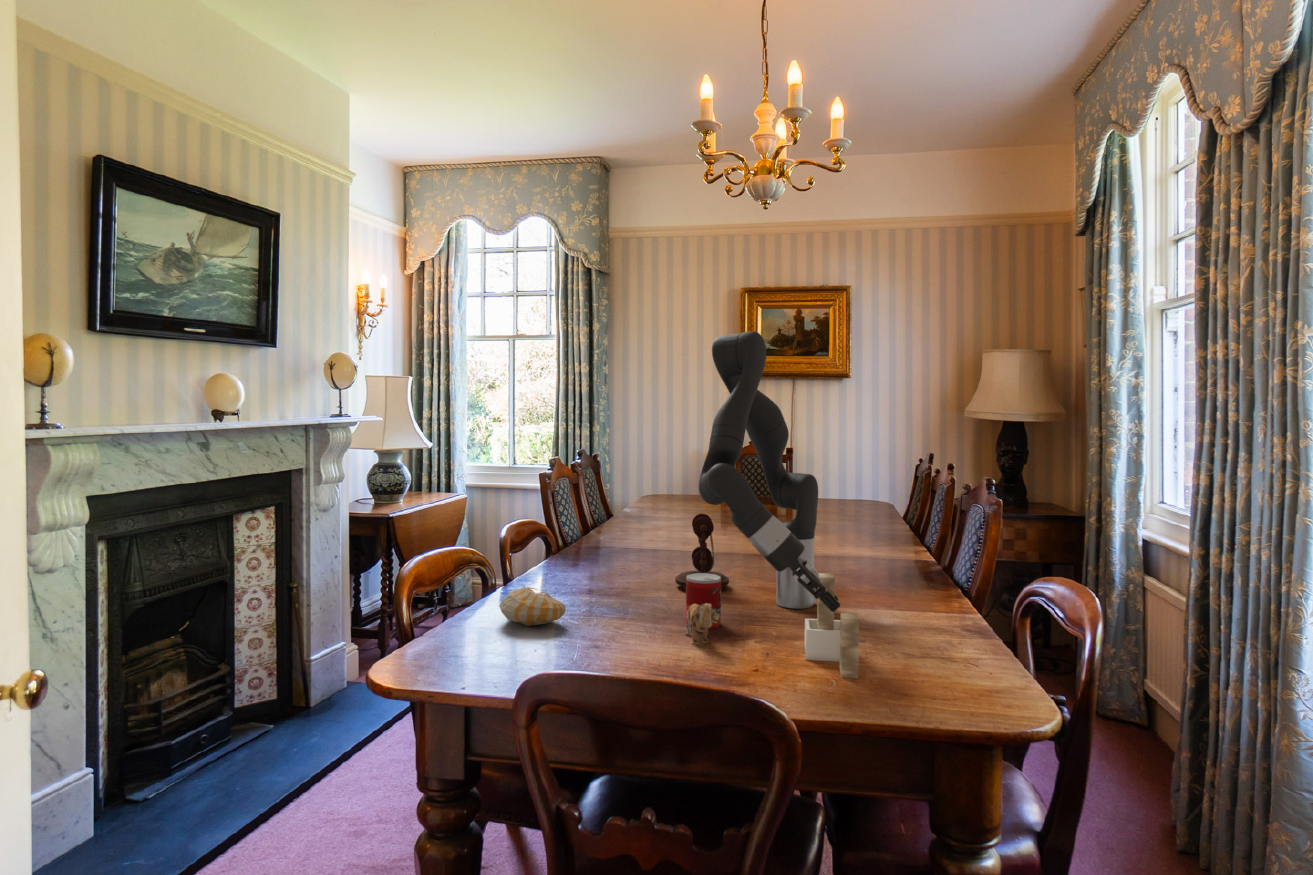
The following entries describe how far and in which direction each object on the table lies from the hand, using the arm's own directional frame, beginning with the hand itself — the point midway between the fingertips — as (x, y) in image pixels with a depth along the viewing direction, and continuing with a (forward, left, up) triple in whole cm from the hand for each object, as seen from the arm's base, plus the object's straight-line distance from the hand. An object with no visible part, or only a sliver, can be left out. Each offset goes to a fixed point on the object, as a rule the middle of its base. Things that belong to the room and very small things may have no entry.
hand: (835, 605), depth 148 cm
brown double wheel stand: (-14, -58, -10) cm, 61 cm away
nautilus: (+39, -56, -10) cm, 69 cm away
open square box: (+1, -1, -10) cm, 10 cm away
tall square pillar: (+1, -1, -5) cm, 5 cm away
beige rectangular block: (+6, +9, -10) cm, 15 cm away
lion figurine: (+16, -23, -10) cm, 30 cm away
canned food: (+8, -31, -10) cm, 34 cm away
